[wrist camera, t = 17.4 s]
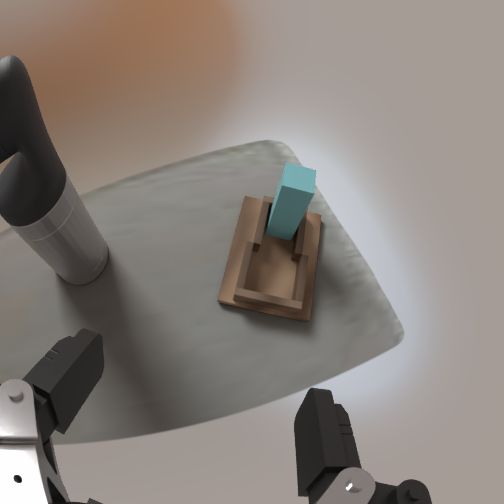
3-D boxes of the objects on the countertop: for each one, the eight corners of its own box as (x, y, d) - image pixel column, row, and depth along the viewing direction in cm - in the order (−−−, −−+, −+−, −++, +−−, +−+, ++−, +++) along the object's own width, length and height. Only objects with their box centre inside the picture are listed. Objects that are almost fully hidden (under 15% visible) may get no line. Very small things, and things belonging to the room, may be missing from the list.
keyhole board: (217, 301, 41) (218, 294, 38) (244, 199, 49) (246, 186, 46) (307, 321, 41) (315, 315, 38) (319, 218, 49) (326, 206, 46)
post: (265, 234, 45) (282, 185, 35) (269, 213, 47) (286, 162, 36) (290, 240, 45) (314, 193, 35) (293, 219, 47) (316, 170, 37)
